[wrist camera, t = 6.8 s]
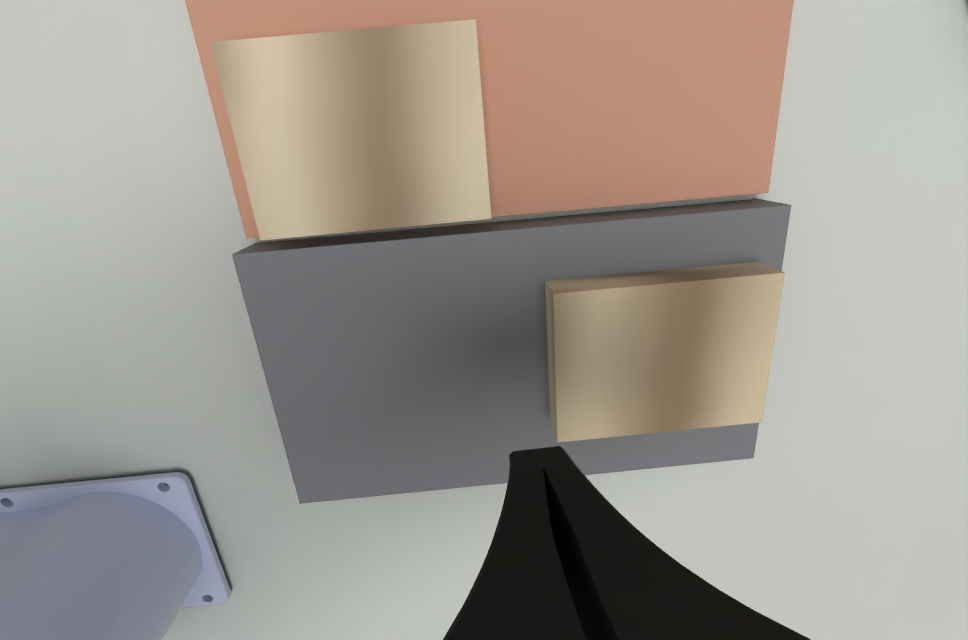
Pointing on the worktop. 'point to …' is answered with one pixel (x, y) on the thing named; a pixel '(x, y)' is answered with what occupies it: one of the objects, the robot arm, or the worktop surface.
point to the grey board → (463, 342)
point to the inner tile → (358, 127)
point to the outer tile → (660, 349)
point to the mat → (575, 91)
